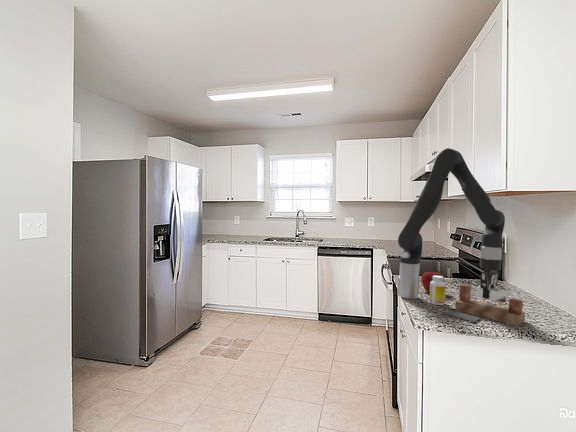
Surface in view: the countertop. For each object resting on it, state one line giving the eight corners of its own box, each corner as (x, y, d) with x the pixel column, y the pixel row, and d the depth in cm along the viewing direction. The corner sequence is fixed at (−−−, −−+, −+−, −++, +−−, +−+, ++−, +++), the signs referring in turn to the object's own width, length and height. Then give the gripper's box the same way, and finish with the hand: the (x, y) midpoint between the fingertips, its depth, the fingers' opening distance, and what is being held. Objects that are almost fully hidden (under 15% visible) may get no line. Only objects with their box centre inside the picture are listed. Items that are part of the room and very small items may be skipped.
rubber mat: (443, 314, 133) (443, 313, 133) (450, 311, 138) (450, 309, 137) (474, 323, 124) (474, 321, 124) (481, 319, 128) (481, 317, 128)
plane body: (455, 310, 139) (456, 285, 139) (463, 306, 145) (464, 282, 144) (517, 326, 121) (519, 298, 120) (525, 321, 127) (526, 294, 126)
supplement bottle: (448, 304, 147) (449, 277, 147) (439, 306, 144) (440, 278, 143) (435, 300, 153) (436, 274, 152) (426, 302, 150) (427, 275, 149)
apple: (439, 290, 172) (439, 269, 172) (446, 295, 162) (447, 273, 161) (418, 289, 173) (418, 268, 173) (424, 294, 163) (425, 272, 162)
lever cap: (475, 296, 134) (476, 287, 134) (480, 294, 138) (480, 285, 137) (504, 303, 126) (504, 293, 126) (508, 300, 129) (509, 291, 129)
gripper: (487, 254, 139) (485, 292, 140) (473, 257, 130) (471, 297, 131) (507, 257, 134) (504, 296, 134) (494, 260, 125) (491, 302, 125)
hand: (488, 297), depth 133 cm, fingers closed on lever cap, 5 cm apart
